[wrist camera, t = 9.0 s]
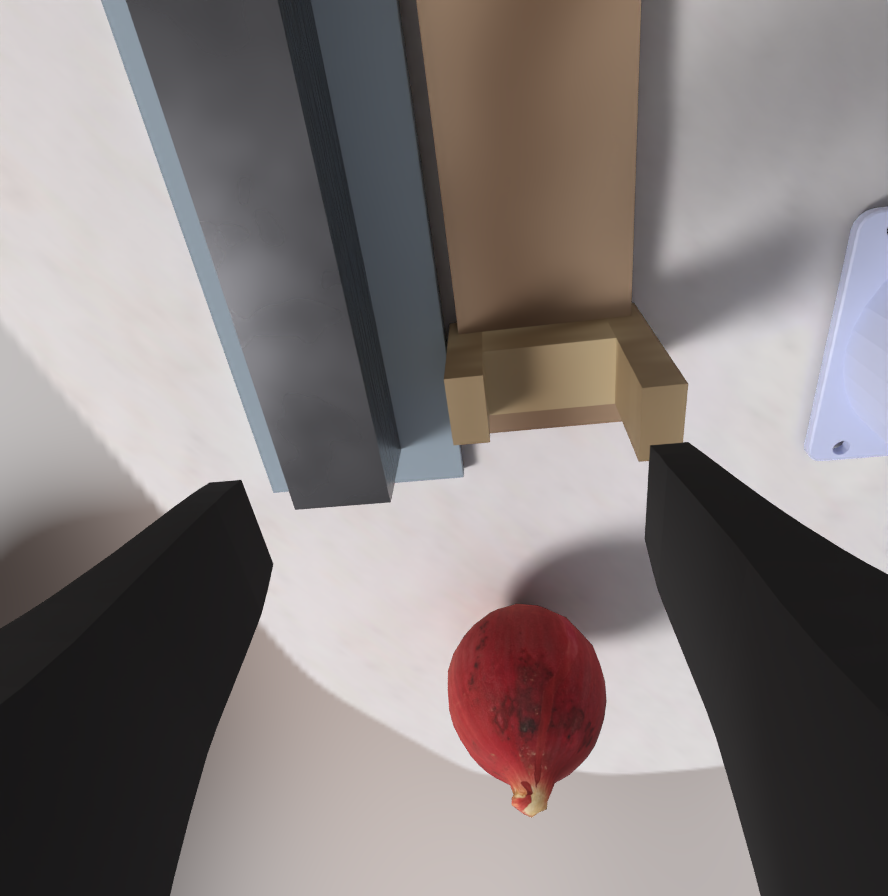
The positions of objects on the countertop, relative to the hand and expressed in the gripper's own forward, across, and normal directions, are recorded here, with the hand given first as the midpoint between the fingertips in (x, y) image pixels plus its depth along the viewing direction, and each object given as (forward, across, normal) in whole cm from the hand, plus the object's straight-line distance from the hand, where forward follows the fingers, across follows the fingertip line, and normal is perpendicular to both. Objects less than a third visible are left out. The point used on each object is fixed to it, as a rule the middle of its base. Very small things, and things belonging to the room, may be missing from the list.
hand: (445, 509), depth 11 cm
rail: (+9, +4, -5) cm, 11 cm away
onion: (+10, -1, +13) cm, 16 cm away
